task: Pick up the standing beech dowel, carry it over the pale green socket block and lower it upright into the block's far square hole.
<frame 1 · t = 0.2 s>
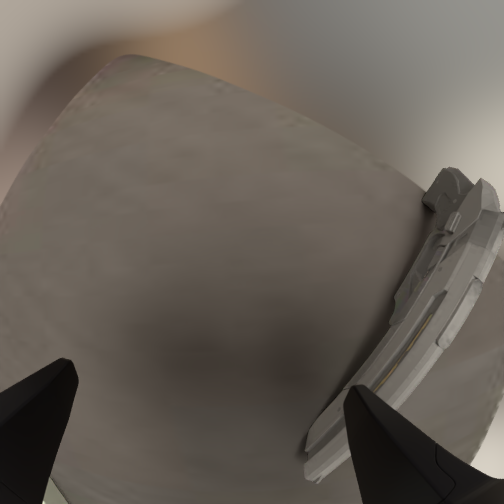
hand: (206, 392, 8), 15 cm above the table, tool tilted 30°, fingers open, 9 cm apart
handgun: (388, 309, 25), on the table
socket block: (23, 503, 14), on the table
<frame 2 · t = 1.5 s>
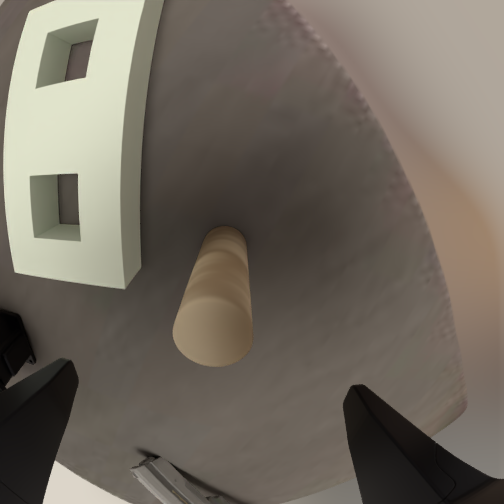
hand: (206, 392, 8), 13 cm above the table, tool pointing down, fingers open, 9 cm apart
dowel: (224, 247, 20), on the table
handgun: (214, 488, 34), on the table
socket block: (80, 128, 16), on the table
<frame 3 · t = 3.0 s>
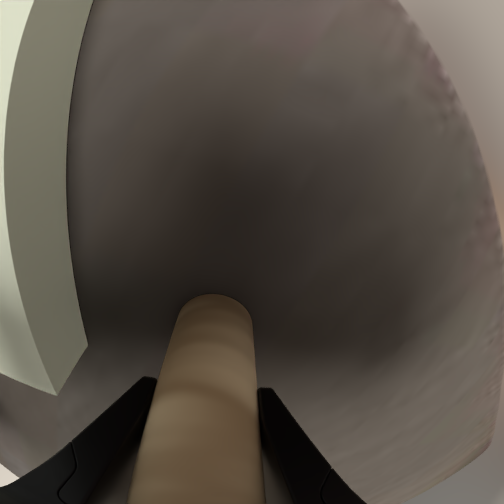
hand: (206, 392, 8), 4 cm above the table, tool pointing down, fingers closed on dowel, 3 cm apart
dowel: (214, 327, 11), on the table, touching gripper
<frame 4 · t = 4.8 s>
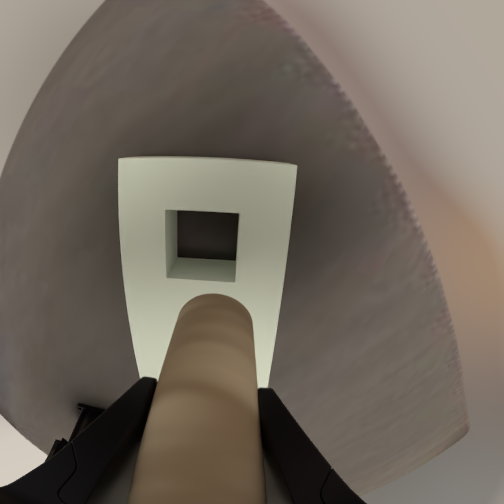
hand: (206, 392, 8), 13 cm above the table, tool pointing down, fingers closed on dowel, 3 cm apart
dowel: (214, 326, 11), point 10 cm above the table, touching gripper
socket block: (205, 294, 21), on the table
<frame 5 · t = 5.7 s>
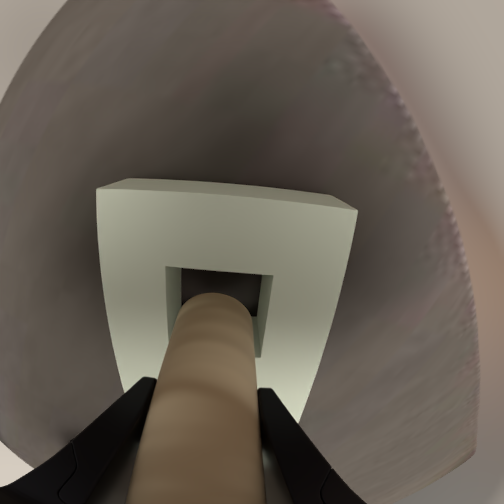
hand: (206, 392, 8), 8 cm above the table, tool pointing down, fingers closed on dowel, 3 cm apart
dowel: (214, 325, 11), point 4 cm above the table, touching gripper
socket block: (216, 353, 17), on the table
when the fingers open (5 cm above the table, at t = 6.4 s): dowel drops 1 cm, resting in socket block.
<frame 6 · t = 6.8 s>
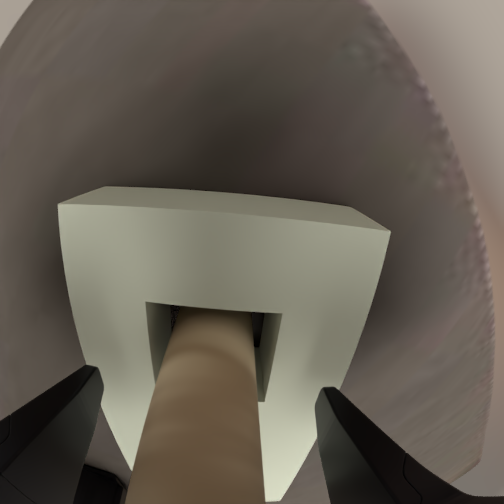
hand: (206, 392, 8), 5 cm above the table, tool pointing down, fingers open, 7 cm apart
dowel: (216, 306, 12), resting in socket block
socket block: (213, 384, 14), on the table
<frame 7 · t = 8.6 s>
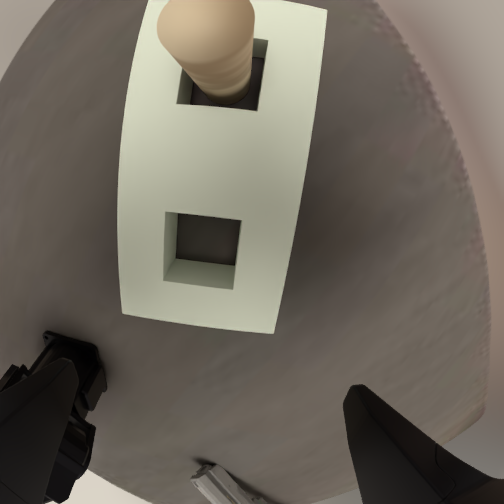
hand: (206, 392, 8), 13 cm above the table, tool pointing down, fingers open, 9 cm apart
dowel: (226, 82, 16), resting in socket block
handgun: (254, 489, 36), on the table
socket block: (215, 158, 17), on the table
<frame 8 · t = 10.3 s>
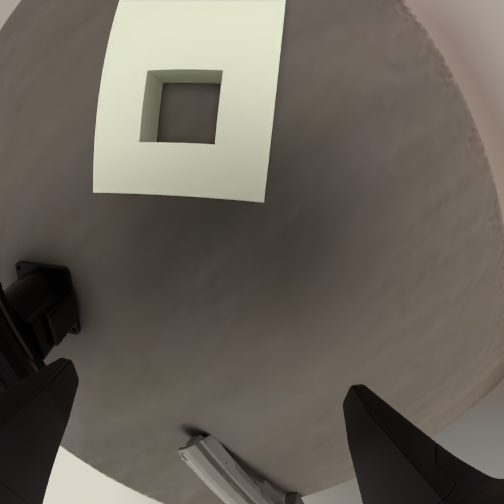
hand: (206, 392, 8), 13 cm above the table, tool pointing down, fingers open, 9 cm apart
handgun: (257, 472, 33), on the table
socket block: (199, 44, 15), on the table
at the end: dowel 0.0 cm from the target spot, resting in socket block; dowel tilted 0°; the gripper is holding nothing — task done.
